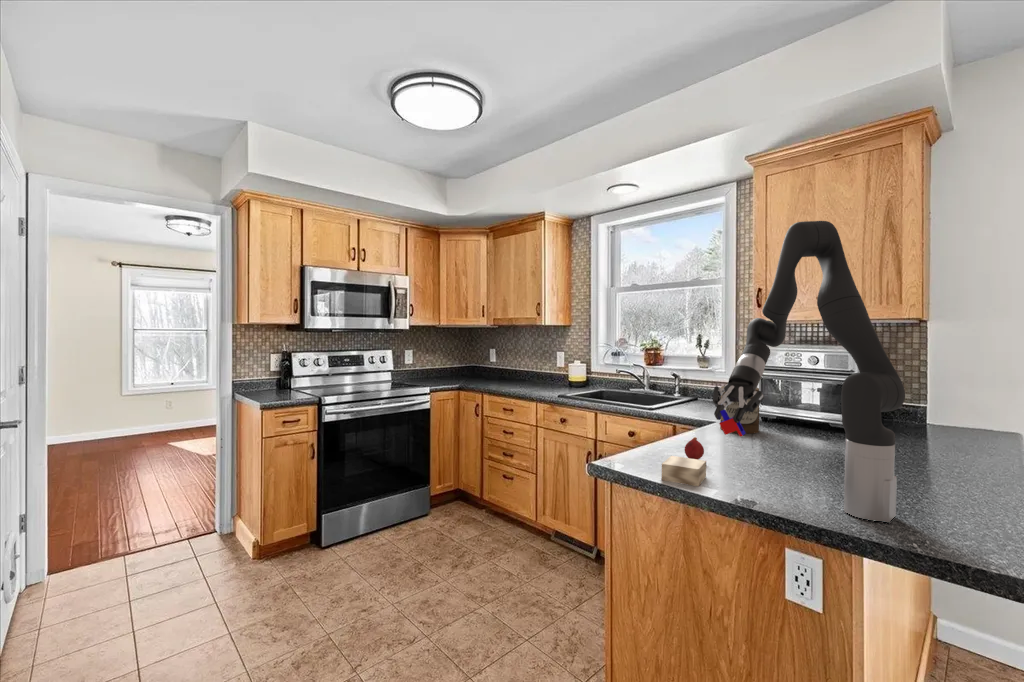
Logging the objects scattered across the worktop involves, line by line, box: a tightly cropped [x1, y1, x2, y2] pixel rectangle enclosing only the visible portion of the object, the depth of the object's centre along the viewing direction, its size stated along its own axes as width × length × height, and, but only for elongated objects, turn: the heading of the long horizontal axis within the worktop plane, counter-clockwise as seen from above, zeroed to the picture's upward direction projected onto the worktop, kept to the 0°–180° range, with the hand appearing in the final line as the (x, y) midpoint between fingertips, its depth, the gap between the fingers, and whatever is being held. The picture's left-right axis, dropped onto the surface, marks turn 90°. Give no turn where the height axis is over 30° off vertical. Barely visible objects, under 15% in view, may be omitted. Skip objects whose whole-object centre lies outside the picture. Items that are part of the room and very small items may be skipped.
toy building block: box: [718, 410, 747, 437], centre depth 135 cm, size 4×4×8 cm
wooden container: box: [719, 385, 760, 435], centre depth 204 cm, size 15×15×22 cm
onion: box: [684, 436, 705, 460], centre depth 157 cm, size 6×6×8 cm
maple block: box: [661, 455, 707, 487], centre depth 140 cm, size 10×10×5 cm
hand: (726, 419), depth 134 cm, fingers closed on toy building block, 4 cm apart
